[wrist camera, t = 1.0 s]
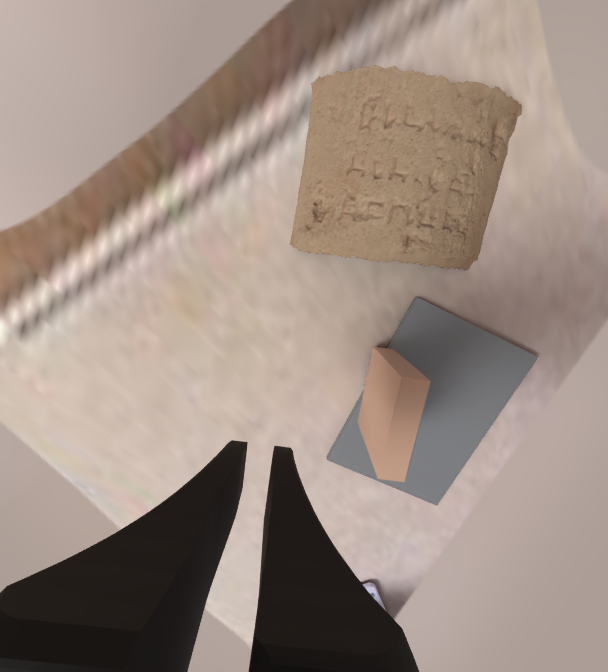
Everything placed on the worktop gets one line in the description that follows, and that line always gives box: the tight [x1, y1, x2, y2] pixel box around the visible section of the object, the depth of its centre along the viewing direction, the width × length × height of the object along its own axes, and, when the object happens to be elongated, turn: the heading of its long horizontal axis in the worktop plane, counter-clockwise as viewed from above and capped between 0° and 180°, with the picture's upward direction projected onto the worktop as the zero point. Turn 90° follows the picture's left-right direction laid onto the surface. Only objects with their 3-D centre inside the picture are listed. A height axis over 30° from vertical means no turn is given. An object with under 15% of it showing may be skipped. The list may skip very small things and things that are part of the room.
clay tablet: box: [290, 65, 522, 270], centre depth 17 cm, size 14×10×3 cm
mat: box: [327, 297, 538, 505], centre depth 21 cm, size 14×10×1 cm
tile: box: [357, 346, 431, 482], centre depth 18 cm, size 6×2×6 cm, turn 172°
